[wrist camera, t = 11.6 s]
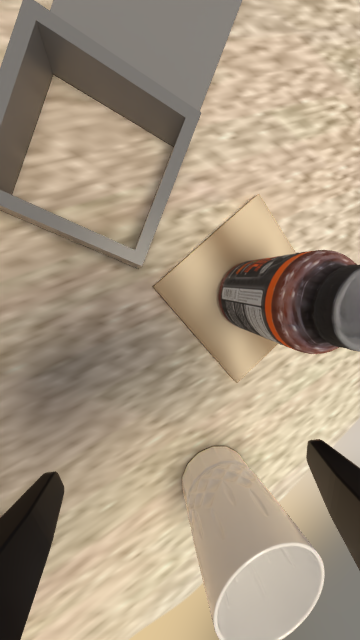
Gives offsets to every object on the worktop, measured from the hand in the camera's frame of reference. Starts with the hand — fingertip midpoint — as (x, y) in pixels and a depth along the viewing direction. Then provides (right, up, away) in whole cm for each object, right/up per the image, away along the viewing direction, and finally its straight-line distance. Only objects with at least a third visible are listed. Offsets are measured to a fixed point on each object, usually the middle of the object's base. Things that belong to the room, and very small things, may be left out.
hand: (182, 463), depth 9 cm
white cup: (+3, -11, +16) cm, 20 cm away
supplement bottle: (+6, +7, +13) cm, 16 cm away
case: (-4, +21, +9) cm, 23 cm away
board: (+6, +8, +14) cm, 17 cm away
